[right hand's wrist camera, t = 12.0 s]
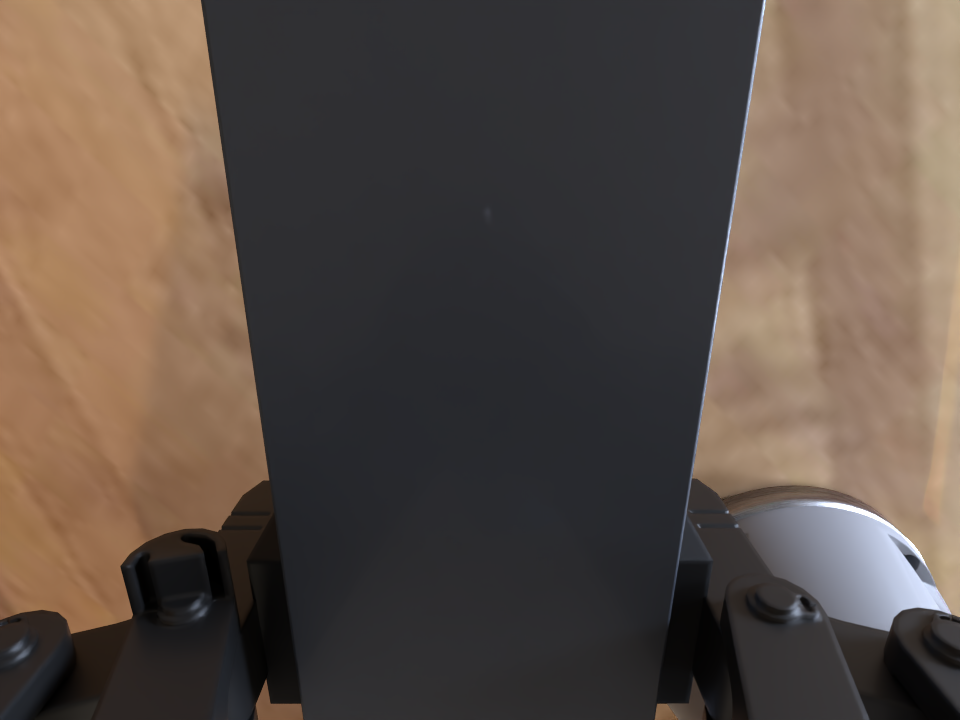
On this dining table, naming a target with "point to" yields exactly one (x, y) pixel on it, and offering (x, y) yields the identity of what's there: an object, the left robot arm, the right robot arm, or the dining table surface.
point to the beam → (481, 331)
